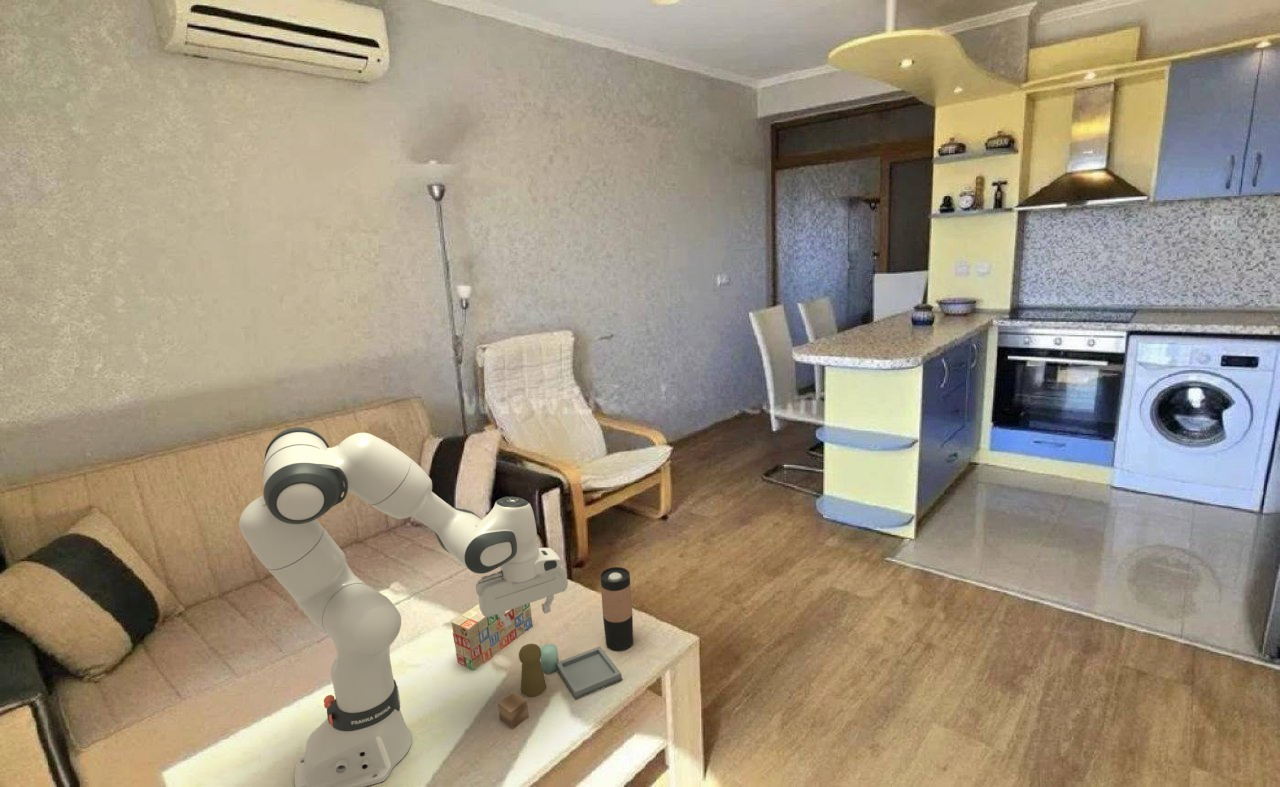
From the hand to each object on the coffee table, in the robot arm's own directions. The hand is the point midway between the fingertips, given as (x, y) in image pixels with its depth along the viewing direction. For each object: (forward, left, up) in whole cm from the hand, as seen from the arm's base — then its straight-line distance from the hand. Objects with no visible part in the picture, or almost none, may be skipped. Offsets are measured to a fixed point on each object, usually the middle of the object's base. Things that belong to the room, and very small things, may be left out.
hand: (527, 618), depth 143 cm
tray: (+13, -3, -19) cm, 23 cm away
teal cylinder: (+6, +5, -19) cm, 20 cm away
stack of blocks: (-3, +21, -19) cm, 29 cm away
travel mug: (+25, +4, -19) cm, 31 cm away
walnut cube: (-7, -7, -19) cm, 21 cm away
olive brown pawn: (0, 0, -19) cm, 19 cm away
